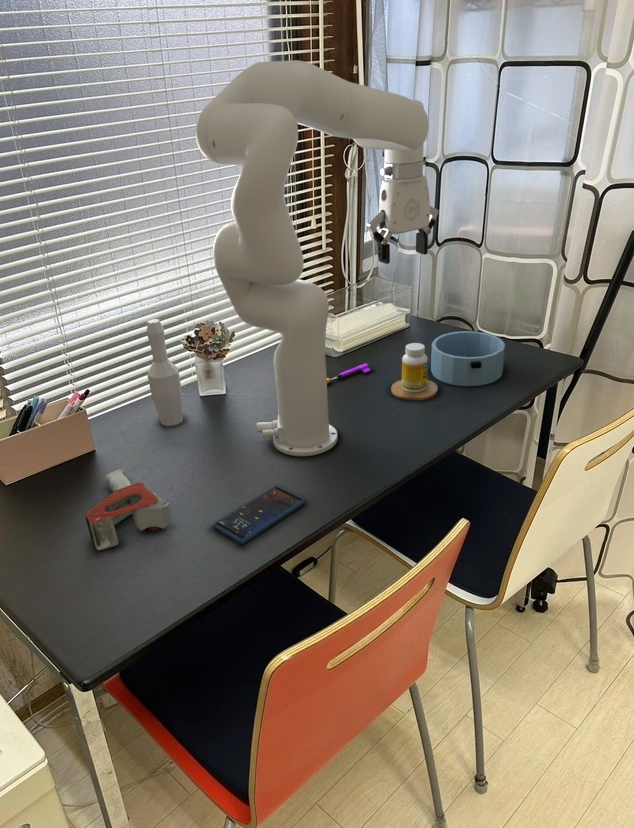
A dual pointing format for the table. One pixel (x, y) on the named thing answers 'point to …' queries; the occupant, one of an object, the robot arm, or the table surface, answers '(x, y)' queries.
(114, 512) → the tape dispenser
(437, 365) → the bowl
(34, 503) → the table surface
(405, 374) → the supplement bottle
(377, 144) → the robot arm
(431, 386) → the coaster
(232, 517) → the smartphone
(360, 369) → the pneumatic cylinder
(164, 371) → the faceted bottle
